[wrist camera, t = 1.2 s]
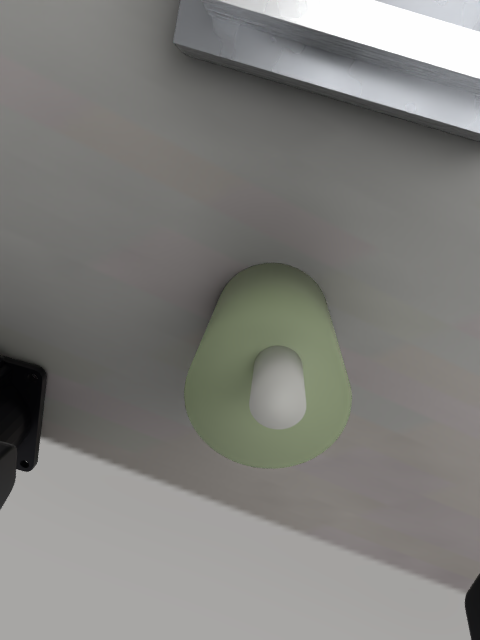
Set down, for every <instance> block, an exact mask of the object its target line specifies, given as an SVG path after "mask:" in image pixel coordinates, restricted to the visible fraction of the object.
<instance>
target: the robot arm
mask: <svg viewBox="0 0 480 640" xmlns="http://www.w3.org/2000/svg"><path fill="white" fill-rule="evenodd" d="M32 374H34V375H36V376H37V378H38V379H36V378H34V377H33V375H32ZM46 379H47V376H46V372H45V370H44V369H43V368H42V367H39V366H37V365H33V364H30V363H26V362H23V361H19V360H16V359H12V358H9V357H5V356H2V355H0V509H1V508H2V506H3V504H4V503H5V501H6V499H7V497H8V496H9V494H10V492H11V490H12V488H13V486H14V483H15V478H16V469H18V470H22V471H26V472H28V471H31V470H32V469H33V468H34V467H35V465H36V464H37V462H38V452H39V443H40V434H41V425H42V415H43V406H44V397H45V388H46ZM26 461H27V462H26ZM465 610H466V615H467V620H468V625H469V630H470V635H471V640H480V574H479V575H478V577H477V578H476V580H475V581H474V583H473V584H472V586H471V587H470V589H469V590H468V592H467V594H466V597H465Z"/></svg>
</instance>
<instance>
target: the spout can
mask: <svg viewBox="0 0 480 640" xmlns="http://www.w3.org/2000/svg"><path fill="white" fill-rule="evenodd" d="M184 399H185V407H186V410H187V414H188V417H189V419H190V421H191V424H192V425H193V427H194V429H195V430H196V432H197V433H198V435H199V436H200V437H201V438H202V440H203V441H204V442H205V443H207V444H208V445H209V446H210V447H211V448H212V449H214V450H215V451H216V452H217V453H219V454H221V455H222V456H224V457H226V458H228V459H230V460H232V461H234V462H237V463H240V464H243V465H247V466H251V467H257V468H274V469H275V468H285V467H290V466H295V465H298V464H301V463H304V462H306V461H309V460H311V459H313V458H315V457H316V456H318V455H320V454H321V453H323V452H324V451H325V450H326V449H328V448H329V447H330V446H331V445H332V444H333V443H334V442H335V441H336V440H337V438H338V437H339V436H340V434H341V433H342V431H343V429H344V427H345V426H346V424H347V421H348V418H349V415H350V410H351V401H352V395H351V386H350V383H349V379H348V376H347V372H346V369H345V365H344V362H343V358H342V355H341V352H340V348H339V345H338V341H337V338H336V334H335V331H334V328H333V324H332V321H331V317H330V314H329V310H328V307H327V303H326V300H325V297H324V295H323V293H322V291H321V289H320V288H319V286H318V285H317V284H316V283H315V281H314V280H313V279H312V278H311V277H309V276H308V275H307V274H306V273H304V272H303V271H301V270H299V269H297V268H295V267H292V266H289V265H285V264H280V263H264V264H258V265H255V266H251V267H249V268H247V269H245V270H243V271H241V272H240V273H238V274H237V275H236V276H234V277H233V278H232V279H231V280H230V281H229V282H228V284H227V285H226V286H225V288H224V289H223V291H222V293H221V295H220V298H219V300H218V302H217V305H216V307H215V309H214V312H213V314H212V317H211V319H210V321H209V324H208V326H207V328H206V331H205V333H204V336H203V338H202V340H201V343H200V345H199V347H198V350H197V352H196V354H195V357H194V359H193V362H192V364H191V366H190V369H189V371H188V374H187V377H186V382H185V388H184Z"/></svg>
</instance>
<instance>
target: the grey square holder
mask: <svg viewBox="0 0 480 640" xmlns="http://www.w3.org/2000/svg"><path fill="white" fill-rule="evenodd" d="M173 43H174V44H175V45H176V46H177V47H178V48H179V49H180V50H181V51H182V52H183V53H184V54H185V55H187V56H191V57H194V58H197V59H201V60H204V61H208V62H211V63H214V64H218V65H221V66H225V67H228V68H231V69H235V70H238V71H241V72H245V73H248V74H252V75H255V76H258V77H262V78H265V79H268V80H272V81H275V82H279V83H282V84H285V85H289V86H292V87H296V88H299V89H302V90H306V91H309V92H312V93H316V94H319V95H323V96H326V97H329V98H333V99H336V100H339V101H343V102H346V103H350V104H353V105H356V106H360V107H363V108H366V109H370V110H373V111H377V112H380V113H383V114H387V115H390V116H394V117H397V118H400V119H404V120H407V121H410V122H414V123H417V124H421V125H424V126H427V127H431V128H434V129H437V130H441V131H444V132H448V133H451V134H454V135H458V136H461V137H464V138H468V139H471V140H475V141H478V142H480V0H180V5H179V11H178V17H177V22H176V28H175V33H174V39H173Z"/></svg>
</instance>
